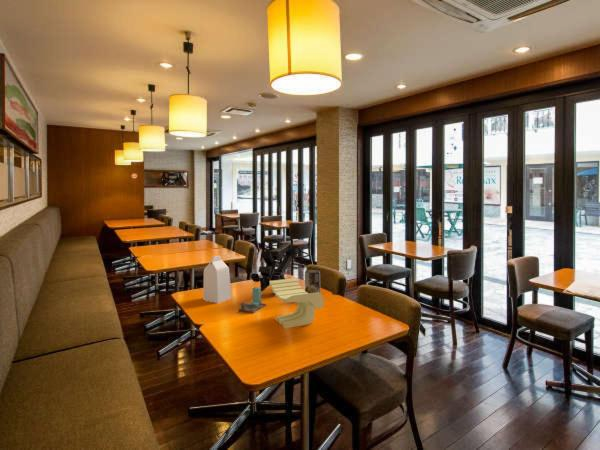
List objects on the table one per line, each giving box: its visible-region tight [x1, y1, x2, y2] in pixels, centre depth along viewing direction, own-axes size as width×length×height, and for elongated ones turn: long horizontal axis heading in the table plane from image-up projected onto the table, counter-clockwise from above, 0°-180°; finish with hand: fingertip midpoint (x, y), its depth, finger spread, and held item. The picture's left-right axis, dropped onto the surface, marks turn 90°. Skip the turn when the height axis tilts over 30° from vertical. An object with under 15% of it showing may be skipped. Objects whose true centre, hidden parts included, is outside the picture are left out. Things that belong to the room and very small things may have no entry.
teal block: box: [249, 286, 262, 308], centre depth 204 cm, size 9×4×9 cm, turn 157°
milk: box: [202, 255, 232, 304], centre depth 220 cm, size 12×12×26 cm
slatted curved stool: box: [268, 278, 324, 329], centre depth 182 cm, size 30×16×18 cm, turn 24°
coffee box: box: [304, 269, 321, 293], centre depth 222 cm, size 9×6×16 cm
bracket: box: [238, 302, 267, 314], centre depth 203 cm, size 14×9×4 cm, turn 157°
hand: (261, 291), depth 212 cm, fingers closed
